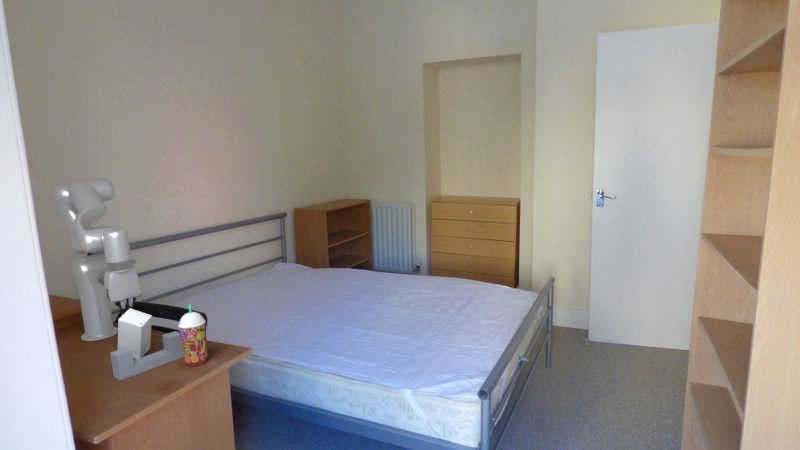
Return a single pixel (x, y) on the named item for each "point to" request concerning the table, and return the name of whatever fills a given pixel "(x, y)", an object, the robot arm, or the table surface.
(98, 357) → the table surface
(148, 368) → the u rest
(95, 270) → the robot arm
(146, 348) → the skincare box
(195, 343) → the smoothie
